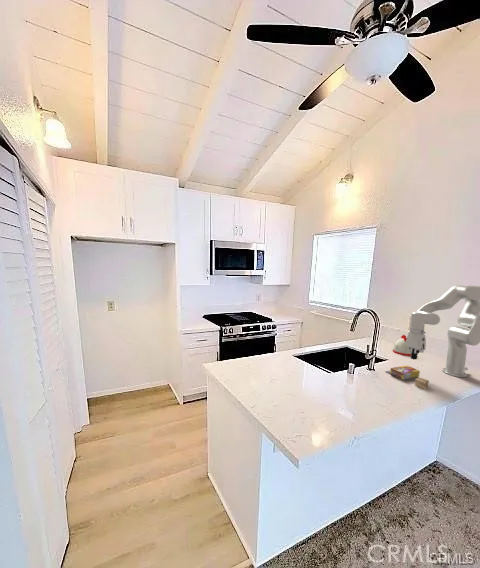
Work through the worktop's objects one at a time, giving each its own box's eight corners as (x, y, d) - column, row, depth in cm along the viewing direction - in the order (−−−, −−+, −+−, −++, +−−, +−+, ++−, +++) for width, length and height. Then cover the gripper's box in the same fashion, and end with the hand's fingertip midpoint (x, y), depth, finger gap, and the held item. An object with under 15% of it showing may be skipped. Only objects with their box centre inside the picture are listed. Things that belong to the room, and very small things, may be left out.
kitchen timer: (396, 354, 204) (398, 336, 203) (389, 349, 217) (391, 332, 216) (416, 356, 202) (417, 338, 200) (407, 350, 215) (409, 333, 214)
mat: (401, 369, 173) (401, 369, 173) (421, 379, 160) (421, 378, 160) (385, 371, 169) (385, 371, 169) (404, 381, 156) (404, 380, 156)
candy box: (405, 371, 171) (389, 373, 165) (406, 365, 170) (390, 367, 165) (419, 377, 163) (402, 379, 157) (420, 370, 162) (403, 373, 157)
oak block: (418, 383, 154) (419, 377, 154) (428, 387, 150) (428, 380, 150) (414, 385, 151) (415, 379, 151) (424, 389, 147) (425, 382, 147)
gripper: (432, 334, 159) (429, 362, 160) (410, 328, 173) (407, 354, 175) (423, 334, 157) (420, 363, 158) (401, 328, 171) (399, 355, 172)
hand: (413, 358), depth 166 cm, fingers closed
